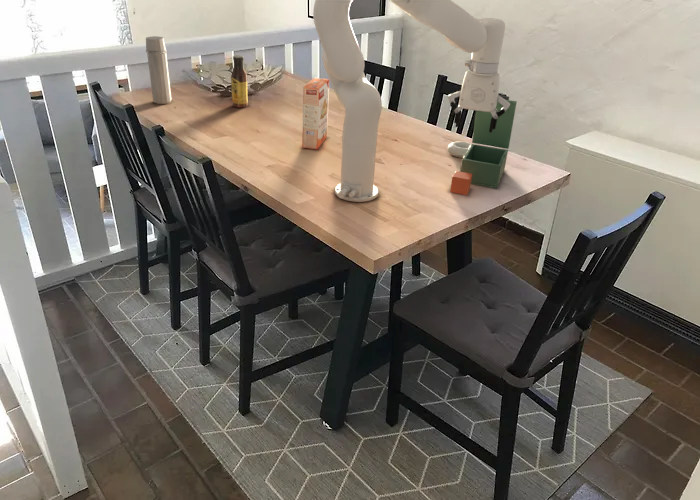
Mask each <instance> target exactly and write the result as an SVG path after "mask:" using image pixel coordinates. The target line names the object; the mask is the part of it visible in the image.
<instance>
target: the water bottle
mask: <svg viewBox="0 0 700 500" xmlns="http://www.w3.org/2000/svg"><path fill="white" fill-rule="evenodd" d="M145 52H146V54H147V55H146V56H147V63H148V71H149V80H150V86H151V96H152V100H153V103H155V104H157V105H167V104H169V103H171V102H172V92H171V91H172V90H171V83H170V74H169V66H168V55H167V53H168V50H167V48H166V43H165V39H164V37H163V36H158V35H157V36H155V35H153V36H152V35H151V36H146V37H145Z"/></svg>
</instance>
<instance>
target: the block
mask: <svg viewBox="0 0 700 500" xmlns="http://www.w3.org/2000/svg"><path fill="white" fill-rule="evenodd" d="M460 171H461V170H460ZM460 171H459V170H455V172H454V173H453V174H452V176H451V182H450V189H449V193H453V194H457V195H463V196H468V194H469V192H470V190H471V186H472V184H471V180H472V174H471V173H465V172H460Z"/></svg>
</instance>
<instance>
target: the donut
mask: <svg viewBox="0 0 700 500" xmlns="http://www.w3.org/2000/svg"><path fill="white" fill-rule="evenodd" d="M472 144H473V143H472V142H468V141H453V142H451V143H449V144H448V146H447V152H448V153H449V155H451V156H453V157H455V158H460V159H463V158H464V156H465V154H466V153H467V151H468V150H469V148H470V146H471V145H472Z"/></svg>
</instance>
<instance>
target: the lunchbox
mask: <svg viewBox="0 0 700 500" xmlns="http://www.w3.org/2000/svg"><path fill="white" fill-rule="evenodd" d="M471 144H472V145H471V146H470V148H469V150H468V151H467V153H466V154H465V156H464V158H461V164H460V172H465V173H471V174H472V180H471V185H476V186H480V187H486V188H492V189H497V188H498V187H499V184H500V182H501V179H502V177H503V175H504V173H505V168H506V163H507V158H508V154H509V149H506V148H500V147H494V146H488V145H482V144H476V143H471Z"/></svg>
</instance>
